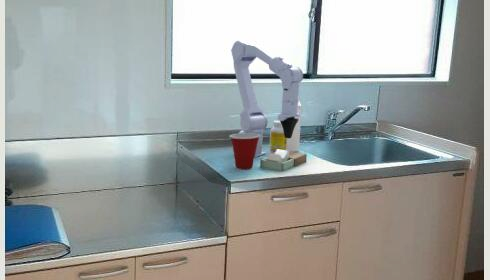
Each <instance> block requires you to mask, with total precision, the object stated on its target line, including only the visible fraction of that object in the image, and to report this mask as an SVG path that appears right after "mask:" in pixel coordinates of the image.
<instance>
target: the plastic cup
mask: <svg viewBox="0 0 490 280" xmlns="http://www.w3.org/2000/svg"><path fill="white" fill-rule="evenodd" d="M259 137H260V134H255V133H239V132H238V133H232V134H230V135H229V138H230V139H231V142H232V143H231V144H232V150H233V159H234V164H235V168H236V169H238V170H246V171H247V170H251V169H253V165H254V161H255V158H256V157H255V153H256V148H257V144H258V139H259Z"/></svg>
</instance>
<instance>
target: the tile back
mask: <svg viewBox="0 0 490 280" xmlns="http://www.w3.org/2000/svg"><path fill="white" fill-rule="evenodd" d="M274 154H278V155H281V157H282V159H283V161H284V162H285V161H287V159H288V158H289V157H290V156H289V151H286V150H280V149H277V151H276V152H275V153H274Z"/></svg>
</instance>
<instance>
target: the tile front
mask: <svg viewBox="0 0 490 280" xmlns="http://www.w3.org/2000/svg"><path fill="white" fill-rule="evenodd" d="M267 160H268V161H274V162H280V163H283V162H284V161H283V159H282V157H281V155H278V154H272V153H270V152H268V154H267Z"/></svg>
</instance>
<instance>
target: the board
mask: <svg viewBox="0 0 490 280" xmlns="http://www.w3.org/2000/svg"><path fill="white" fill-rule="evenodd" d="M289 156H290V157H289V158H288V159H287V161H288V160H290V159H294V168H295V167H297V166H299V165H302V164H304V163H306V162H307V156H308V155H307V153H303V152H291V151H289Z"/></svg>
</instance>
